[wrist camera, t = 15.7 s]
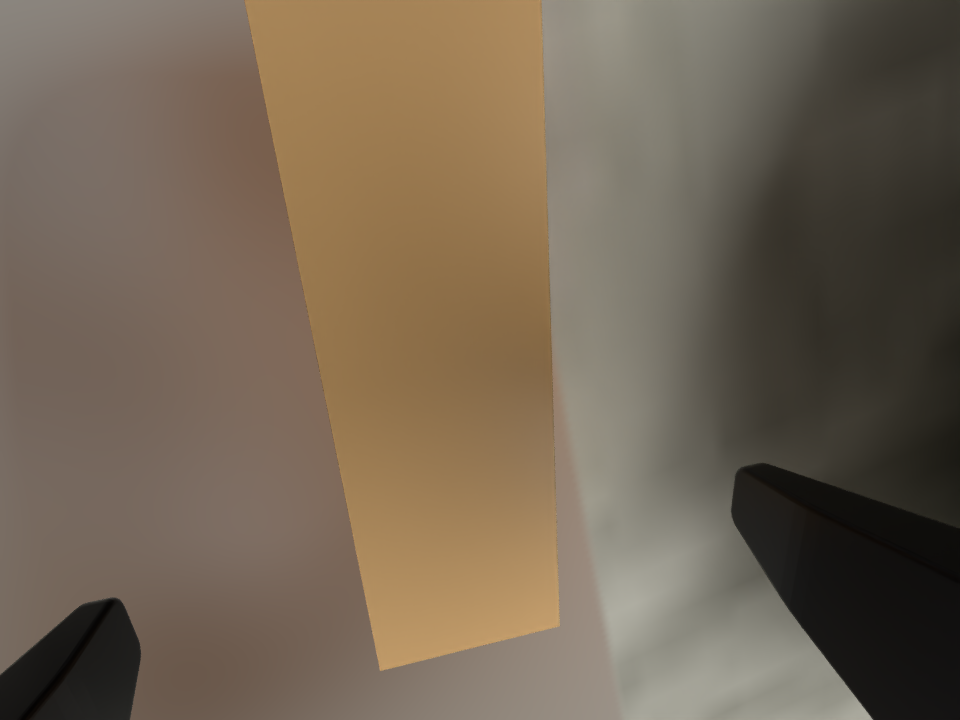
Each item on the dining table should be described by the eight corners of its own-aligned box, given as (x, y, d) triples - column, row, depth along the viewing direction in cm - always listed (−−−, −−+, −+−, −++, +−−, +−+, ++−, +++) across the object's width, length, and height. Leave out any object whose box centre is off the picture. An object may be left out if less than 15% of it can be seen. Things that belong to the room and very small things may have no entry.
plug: (504, -415, 7) (686, -999, 3) (541, 504, 13) (628, 665, 9) (112, -447, 6) (-204, -1247, 3) (332, 547, 12) (331, 744, 8)
